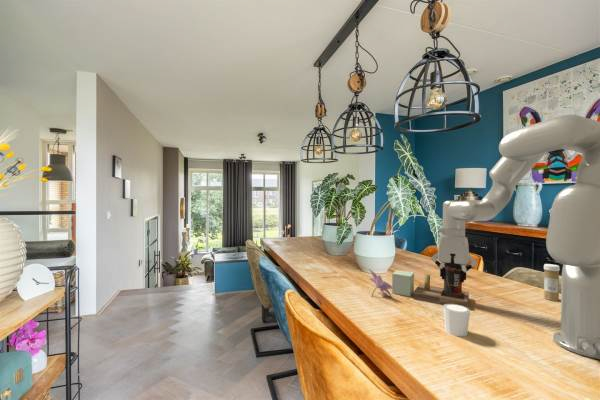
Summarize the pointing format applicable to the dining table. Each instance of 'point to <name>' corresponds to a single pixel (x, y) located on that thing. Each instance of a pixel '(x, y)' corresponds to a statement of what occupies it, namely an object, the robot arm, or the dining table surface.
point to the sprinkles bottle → (551, 282)
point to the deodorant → (452, 277)
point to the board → (439, 294)
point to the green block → (403, 283)
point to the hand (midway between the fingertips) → (452, 279)
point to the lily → (380, 283)
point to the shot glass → (456, 319)
